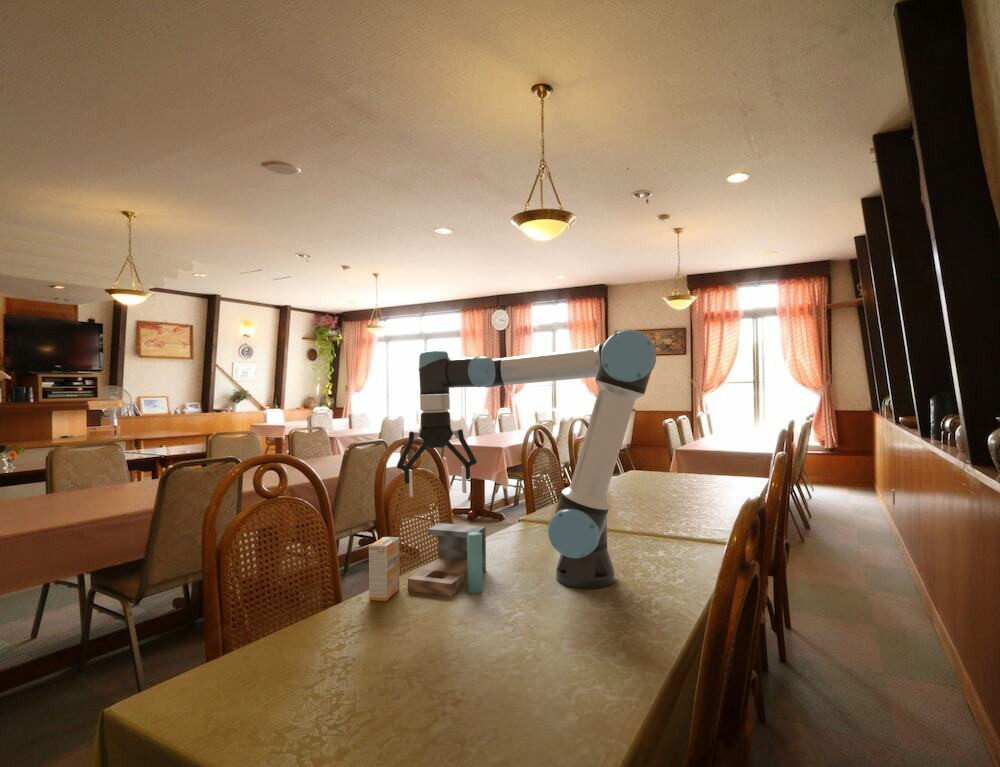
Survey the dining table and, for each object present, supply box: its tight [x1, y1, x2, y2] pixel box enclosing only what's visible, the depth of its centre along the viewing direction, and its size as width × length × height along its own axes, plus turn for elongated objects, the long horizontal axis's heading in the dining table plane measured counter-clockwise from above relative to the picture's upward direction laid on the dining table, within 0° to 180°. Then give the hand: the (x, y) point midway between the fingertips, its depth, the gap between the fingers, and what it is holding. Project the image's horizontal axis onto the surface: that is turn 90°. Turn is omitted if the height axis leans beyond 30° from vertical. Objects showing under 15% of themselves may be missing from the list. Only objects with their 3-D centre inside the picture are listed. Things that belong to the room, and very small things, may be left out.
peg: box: [467, 532, 483, 595], centre depth 135 cm, size 4×4×14 cm
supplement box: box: [368, 536, 400, 602], centre depth 133 cm, size 8×5×13 cm, turn 168°
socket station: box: [407, 522, 487, 597], centre depth 143 cm, size 14×20×12 cm
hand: (438, 494), depth 140 cm, fingers open, 13 cm apart
